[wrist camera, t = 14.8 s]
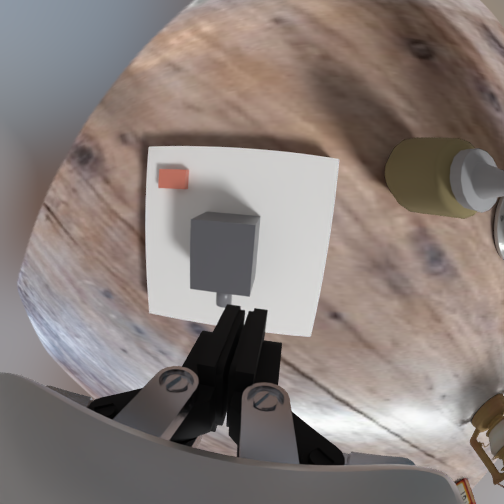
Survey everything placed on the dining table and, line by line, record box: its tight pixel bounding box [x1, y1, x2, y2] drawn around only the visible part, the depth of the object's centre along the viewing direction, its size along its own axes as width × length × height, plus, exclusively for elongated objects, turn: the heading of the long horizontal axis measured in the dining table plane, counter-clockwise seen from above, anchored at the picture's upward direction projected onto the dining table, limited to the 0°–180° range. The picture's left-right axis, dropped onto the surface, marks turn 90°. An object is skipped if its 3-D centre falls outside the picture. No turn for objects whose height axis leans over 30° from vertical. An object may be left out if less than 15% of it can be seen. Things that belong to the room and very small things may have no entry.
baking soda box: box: [456, 478, 476, 504], centre depth 41 cm, size 10×6×16 cm
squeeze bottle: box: [385, 138, 504, 219], centre depth 18 cm, size 8×8×18 cm
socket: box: [145, 146, 339, 337], centre depth 29 cm, size 20×20×4 cm
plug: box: [190, 212, 261, 308], centre depth 28 cm, size 9×6×8 cm, turn 175°
